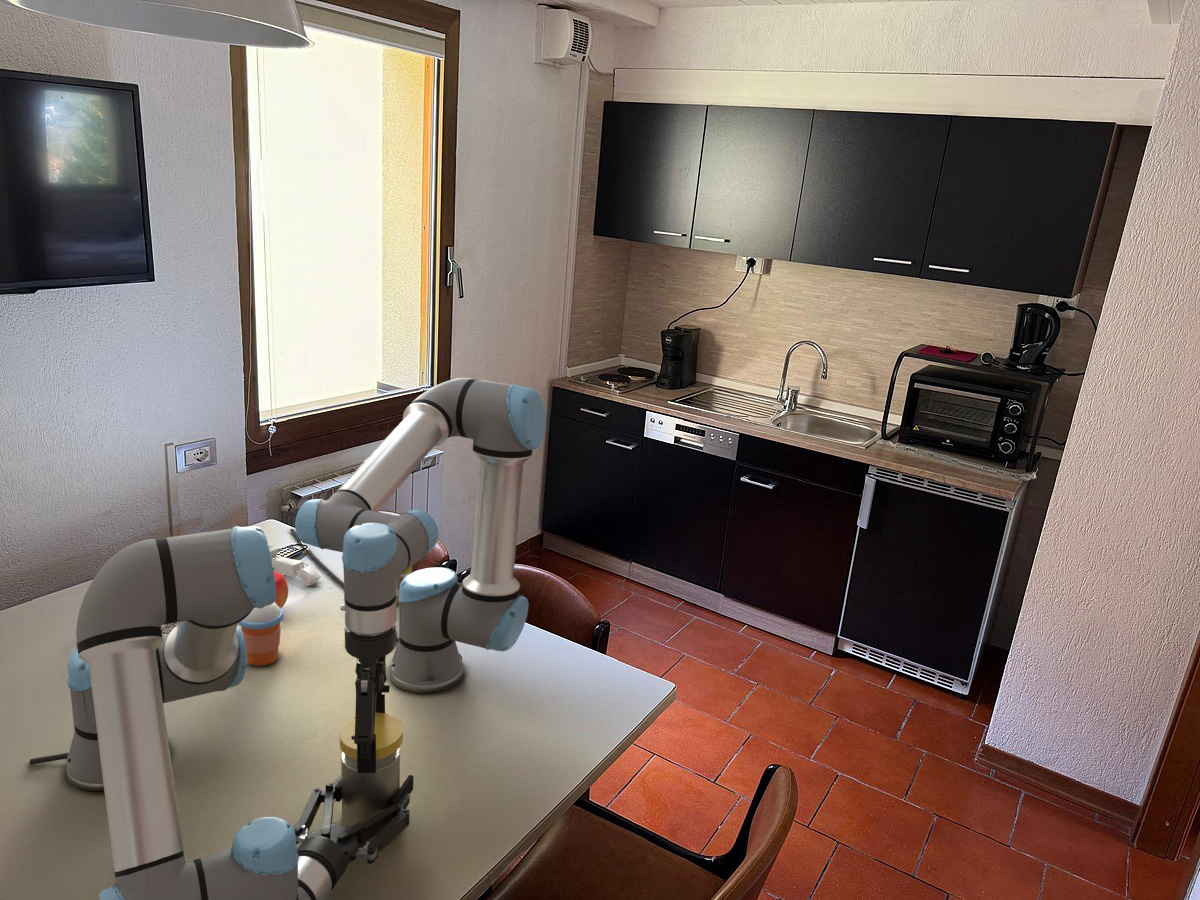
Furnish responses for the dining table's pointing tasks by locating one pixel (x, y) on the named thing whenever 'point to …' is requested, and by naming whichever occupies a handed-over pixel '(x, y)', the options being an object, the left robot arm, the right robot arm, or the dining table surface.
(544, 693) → the dining table surface
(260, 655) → the cup with straw
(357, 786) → the jar
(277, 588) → the apple
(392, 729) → the lid
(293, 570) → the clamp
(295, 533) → the right robot arm
